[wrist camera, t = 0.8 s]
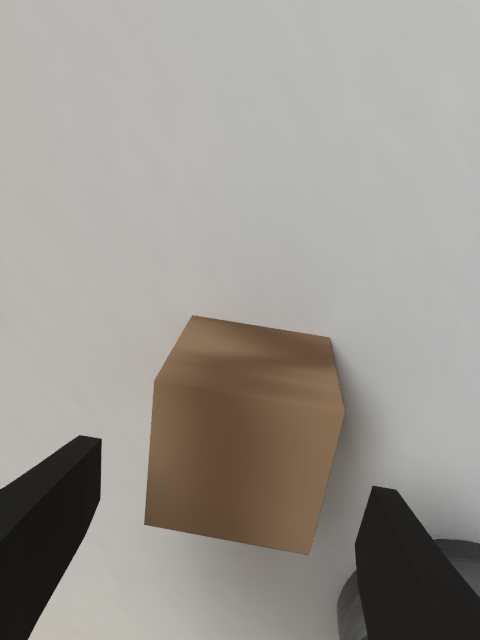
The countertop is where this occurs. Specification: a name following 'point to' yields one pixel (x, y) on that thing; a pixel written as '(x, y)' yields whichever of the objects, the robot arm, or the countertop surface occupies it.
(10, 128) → the countertop surface
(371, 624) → the robot arm
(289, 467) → the walnut cube
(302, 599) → the countertop surface
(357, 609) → the grey tin
